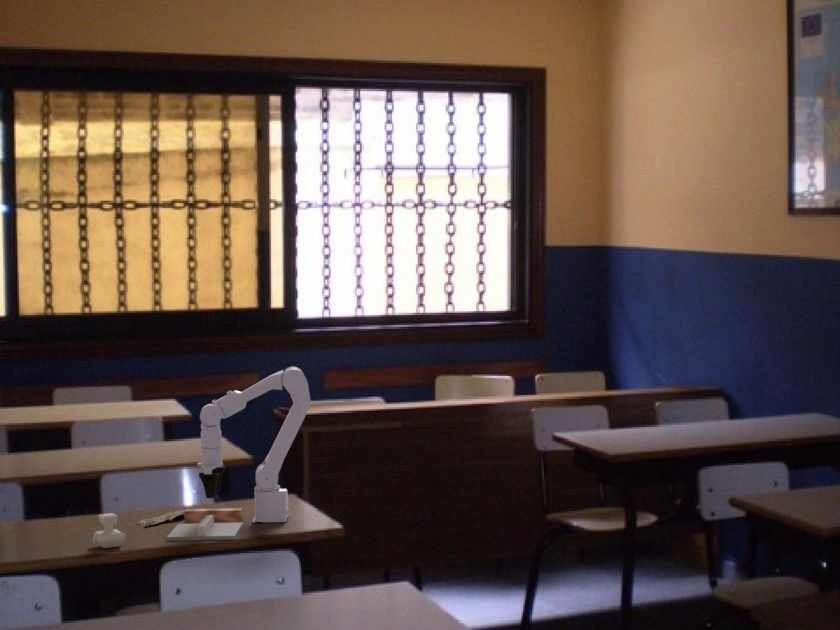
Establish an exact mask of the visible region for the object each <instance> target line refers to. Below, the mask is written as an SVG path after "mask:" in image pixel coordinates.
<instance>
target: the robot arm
mask: <svg viewBox="0 0 840 630" xmlns="http://www.w3.org/2000/svg"><path fill="white" fill-rule="evenodd" d="M283 387H284V388H285V390H286V391H287V392H288V394H290V398H291V401H292V405H291V407H290V409H289V411H288V413H287V416H286V418H285V420H284V422H283V424H282V426H281V428H280V430H279V432H278V433H277V436H276V438H275V440H274V442H273V444H272V446H271V448H270V450H269V452H268V454H267V455H266V457H265V458H264V461H263V462H262V463H261V464H259V465H258V466H257V468H256V469H255V484H256V485H255V486H254V488H253V490H254V491H253V494H254V517H253V519H252V520H251V521H252V522H251V523H252V524H253V523H254V524H255V522H262V523H285V522H287V521H288V519H289V517H288V516H290V515H289V514H290V510H289V492H288V489H287V488H282V487H281V485H279V484H278V482H279V473H280V471H281V468H282V466H283V464H284V460H285V459H286V456H287V454H288V452H289V450H290V448H291V446H292V445H293V442H294V440H295V438H296V436H297V434H298V432H299V430H300V428H301V426H302V423H303V422H304V420H305V418H306V415H307V413H308V412H309V410H310V408H311V404H312V403H311V402H312V401H311V395H310V389H309V383H308V380H307V377H306V375H305V374H304V372H303V371H302V369H301V368H299V367H297V366H289V367H286V368H285V369H282V370H279V371H277V372H275V373H273V374H271V375H268V376H267V377H265V378H263V379H261V380H260V381H258V382H256V383H255V384H253V385H251V386H250V387H248V388H246V389H244V390H243V391H239V390H236V389H234V390H233V391H232V390H228V391H227V392H226V394H225V395H224V396H222V397H220V398H218V399H213V400H211V403H208V404H207V403H206V405H204V406H203V407H202V408H201V411H200V414H199V420H200V422H201V424H200V429H201V431H200V447H201V448H200V451H201V452H200V454H201V456H200V457H201V462H197V463H196V465H197V467H202V469H203V472H199V473H198V477H199V479H200V480H201V482H202V483H201V484H202V485H203V489H204V493H205V497H206V499H215V496H216V494H217V493H220V490H221V483H222V478H223V474H224V471H225V469H226V466H224V462H223V446H222V445H223V444H222V430H221V420H222V419H227V418H229V417H231V416H233V415H234V414H237V413H239V412H241V411H242V410H244V409H245V408H246V405H247V402H249V401H251V400H254V399H255V398H257V397H260V396H261V395H264V394H265V393H267V392H269V391H271V390H278V391H279V390H280V391H283ZM287 518H288V519H287Z"/></svg>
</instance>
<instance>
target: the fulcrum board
mask: <svg viewBox="0 0 840 630" xmlns="http://www.w3.org/2000/svg"><path fill="white" fill-rule="evenodd" d="M243 527H244V521H243V522H240V523H214V515H206V516H205V517H204V519H203V520H202V521H201V522H200V523H193V524H185V523H177V525H176V526H175V527H174V528H173V529H172V530H171V532H170V533H169V534H168V535H167V536H166V542H175V541H176V542H179V541H184V542H185V541H219V540H220V541H223V540H226V541H228V540H230V541H231V540H235V539H236V538H237V537H238V535H239V534H240V532H241V530H242V529H243ZM241 528H242V529H241Z"/></svg>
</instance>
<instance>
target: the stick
mask: <svg viewBox="0 0 840 630" xmlns="http://www.w3.org/2000/svg"><path fill="white" fill-rule="evenodd" d="M183 515H184V516H183V519H184V524H185V523H200V522H201V521H202V520H203V519H204V517H205V516H206V515H214V523H240V522H242V521H243V522H244V509H243V507H239V508H238V507H237V508H235V507H233V508H232V507H231V508H230V507H229V508H196V509H195V508H186V509H185V510H184V514H183Z"/></svg>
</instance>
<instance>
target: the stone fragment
mask: <svg viewBox="0 0 840 630" xmlns="http://www.w3.org/2000/svg"><path fill="white" fill-rule="evenodd" d="M194 509H197V508H196V507H195V508H194ZM184 511H185V510H184V509H181V510H175V511H168V512H167V513H165V514H162V515H157V516H154V517H149V518H146V519H142V520H138V521H137V523H140V524H141V525H143V524H142V523H144V525H146V526H147V527H149V526H153V525H157V524H160V523H163V522H165V521H167V520H168V521H173V519H174V518H176V517H178V516H181V515H182V516H183V515H184ZM147 527H146V528H147Z"/></svg>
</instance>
